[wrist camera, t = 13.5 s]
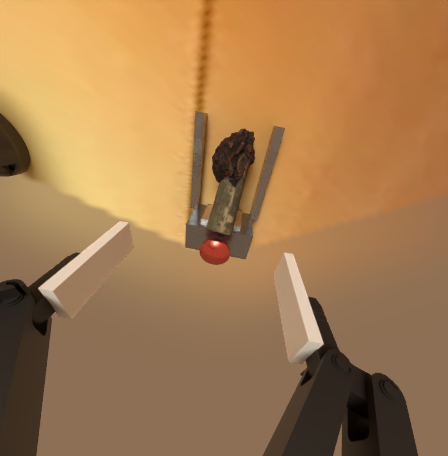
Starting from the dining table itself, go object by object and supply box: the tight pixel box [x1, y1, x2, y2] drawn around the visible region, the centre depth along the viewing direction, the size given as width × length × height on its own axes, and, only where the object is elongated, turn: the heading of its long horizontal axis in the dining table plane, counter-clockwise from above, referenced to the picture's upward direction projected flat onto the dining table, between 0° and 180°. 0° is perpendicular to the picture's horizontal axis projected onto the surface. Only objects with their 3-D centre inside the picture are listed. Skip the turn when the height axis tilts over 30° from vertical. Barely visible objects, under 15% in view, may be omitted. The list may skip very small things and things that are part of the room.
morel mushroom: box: [206, 129, 255, 235], centre depth 29 cm, size 18×7×6 cm
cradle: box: [185, 111, 285, 265], centre depth 31 cm, size 15×24×12 cm, turn 171°
